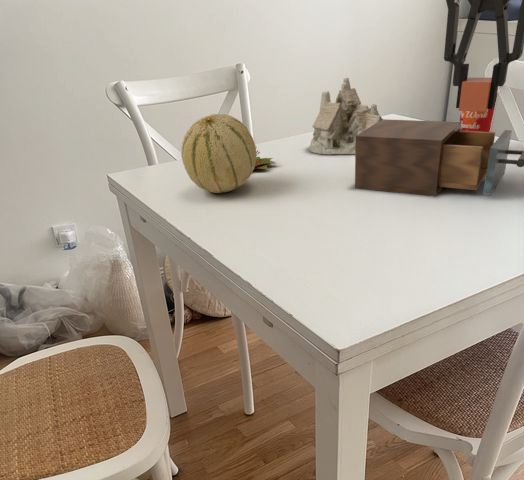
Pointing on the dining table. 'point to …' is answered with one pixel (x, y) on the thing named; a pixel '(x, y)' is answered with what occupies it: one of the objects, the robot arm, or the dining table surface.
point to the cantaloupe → (218, 153)
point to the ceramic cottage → (341, 122)
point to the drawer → (475, 160)
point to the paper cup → (477, 119)
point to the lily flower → (262, 162)
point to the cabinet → (402, 155)
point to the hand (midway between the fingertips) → (475, 106)
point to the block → (475, 94)
